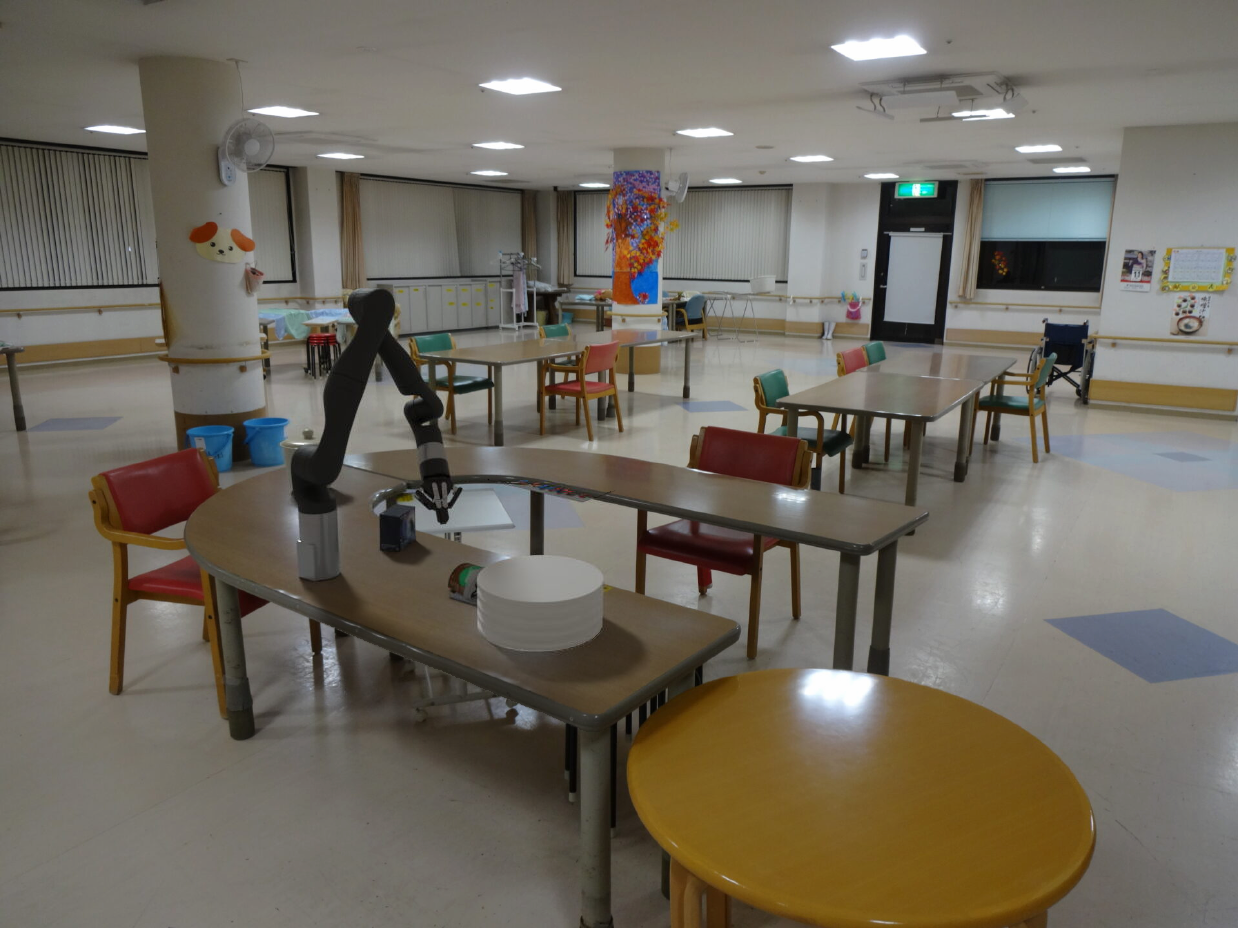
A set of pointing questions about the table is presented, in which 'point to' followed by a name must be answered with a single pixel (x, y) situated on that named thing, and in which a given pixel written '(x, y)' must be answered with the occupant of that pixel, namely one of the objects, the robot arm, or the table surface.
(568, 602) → the plate stack
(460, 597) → the rubber mat
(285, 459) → the canister
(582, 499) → the gear board
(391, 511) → the small box
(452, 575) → the cake slice
